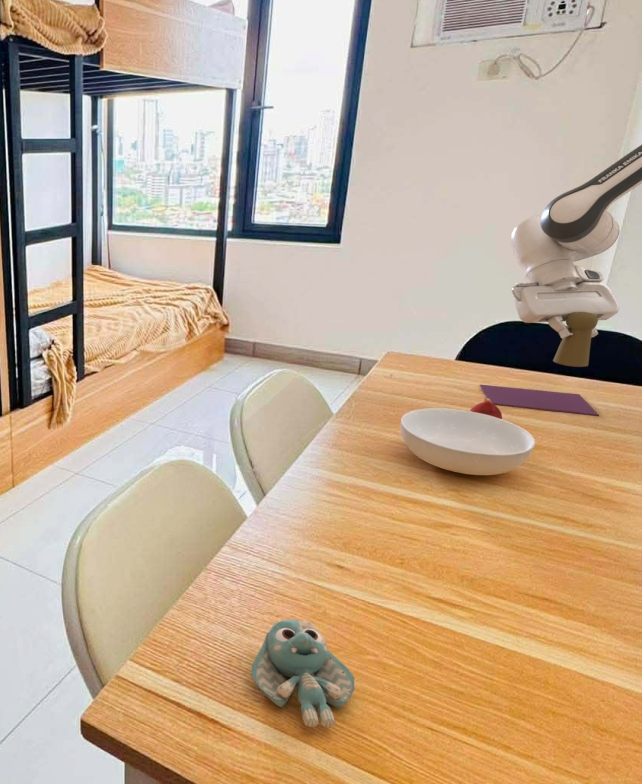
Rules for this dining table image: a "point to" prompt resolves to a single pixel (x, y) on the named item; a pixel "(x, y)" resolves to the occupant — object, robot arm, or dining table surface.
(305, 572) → the dining table surface
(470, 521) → the dining table surface
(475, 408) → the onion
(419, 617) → the dining table surface
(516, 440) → the serving bowl
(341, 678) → the stuffed animal
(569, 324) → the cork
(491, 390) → the plum cloth
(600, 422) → the dining table surface
